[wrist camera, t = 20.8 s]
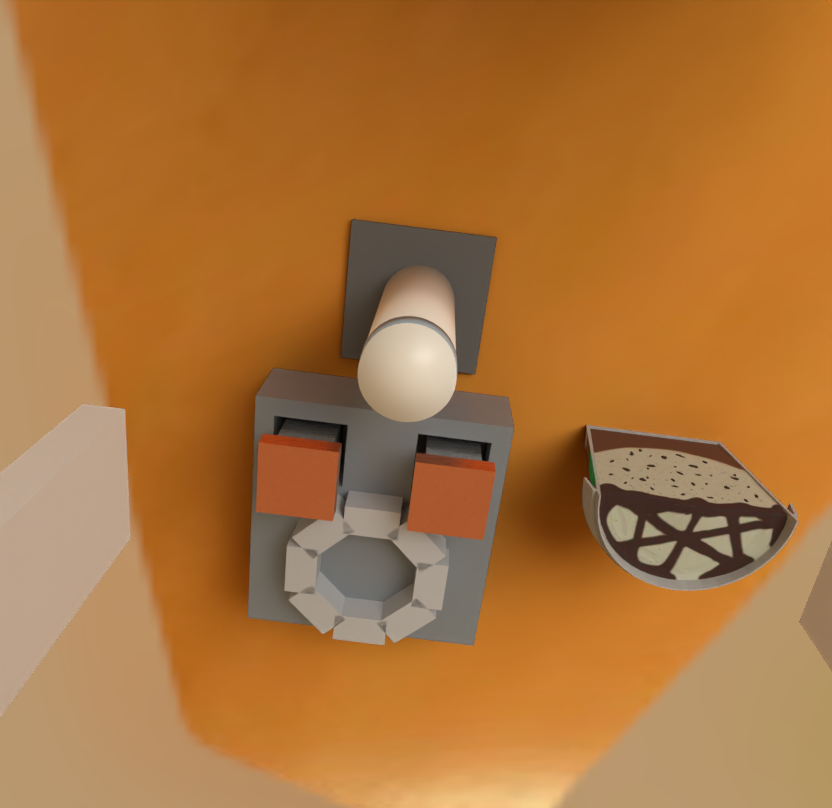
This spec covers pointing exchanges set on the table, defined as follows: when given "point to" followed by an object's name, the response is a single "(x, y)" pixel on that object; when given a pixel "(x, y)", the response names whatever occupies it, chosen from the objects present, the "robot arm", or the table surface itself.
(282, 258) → the table surface
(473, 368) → the mat
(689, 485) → the food container
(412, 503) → the plunger
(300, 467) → the plunger
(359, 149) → the table surface
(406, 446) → the housing
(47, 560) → the robot arm
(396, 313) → the cartridge
